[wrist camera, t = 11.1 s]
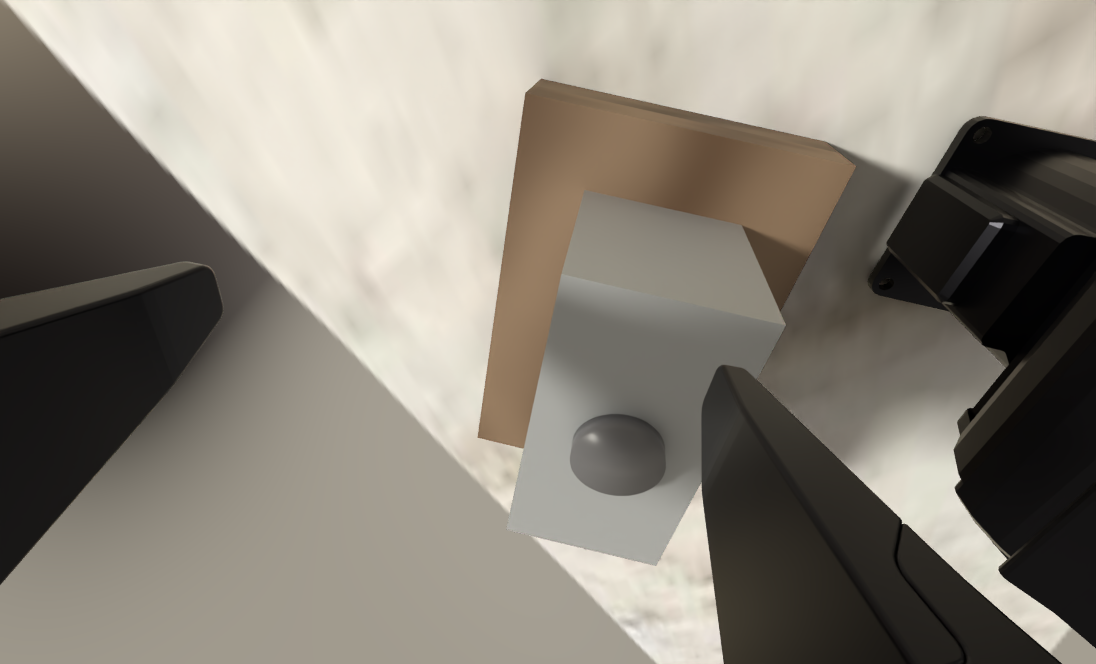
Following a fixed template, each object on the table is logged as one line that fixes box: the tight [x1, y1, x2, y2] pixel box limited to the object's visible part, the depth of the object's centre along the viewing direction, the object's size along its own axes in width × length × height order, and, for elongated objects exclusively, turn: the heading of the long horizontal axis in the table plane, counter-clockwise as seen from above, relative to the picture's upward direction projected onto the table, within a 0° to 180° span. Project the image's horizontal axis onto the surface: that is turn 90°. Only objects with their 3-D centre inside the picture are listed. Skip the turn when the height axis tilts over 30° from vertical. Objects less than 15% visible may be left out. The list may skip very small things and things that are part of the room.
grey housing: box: [506, 190, 786, 566], centre depth 17 cm, size 10×5×7 cm, turn 169°
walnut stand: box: [478, 79, 856, 448], centre depth 21 cm, size 10×15×3 cm, turn 169°
